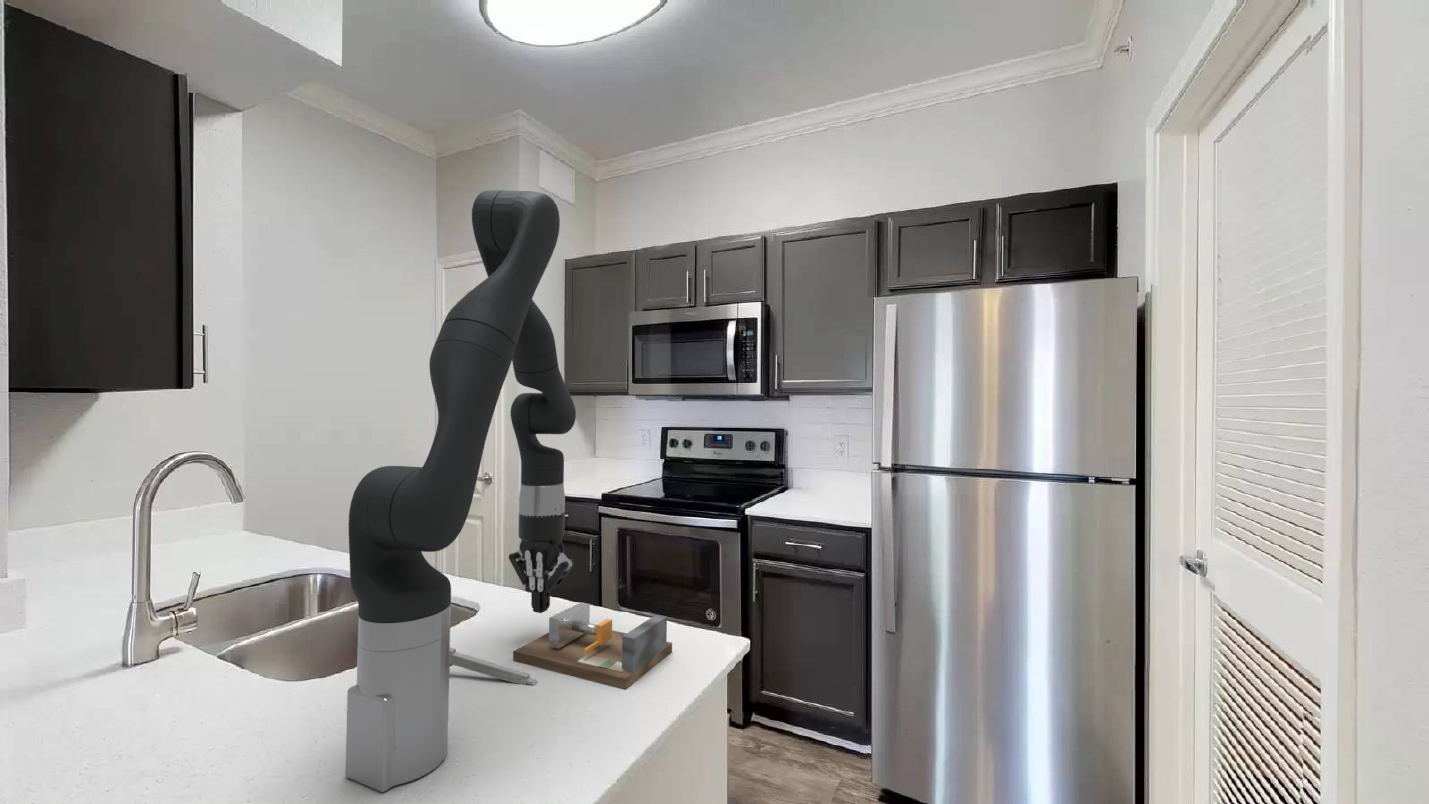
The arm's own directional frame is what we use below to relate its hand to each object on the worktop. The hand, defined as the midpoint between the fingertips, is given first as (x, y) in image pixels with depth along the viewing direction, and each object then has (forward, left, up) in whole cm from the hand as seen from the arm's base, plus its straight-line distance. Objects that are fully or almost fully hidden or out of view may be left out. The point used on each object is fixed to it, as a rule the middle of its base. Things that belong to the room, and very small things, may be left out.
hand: (540, 611), depth 97 cm
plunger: (0, -9, -3) cm, 9 cm away
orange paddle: (-2, -13, -3) cm, 14 cm away
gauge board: (0, -11, -5) cm, 13 cm away
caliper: (-14, 0, -6) cm, 15 cm away
